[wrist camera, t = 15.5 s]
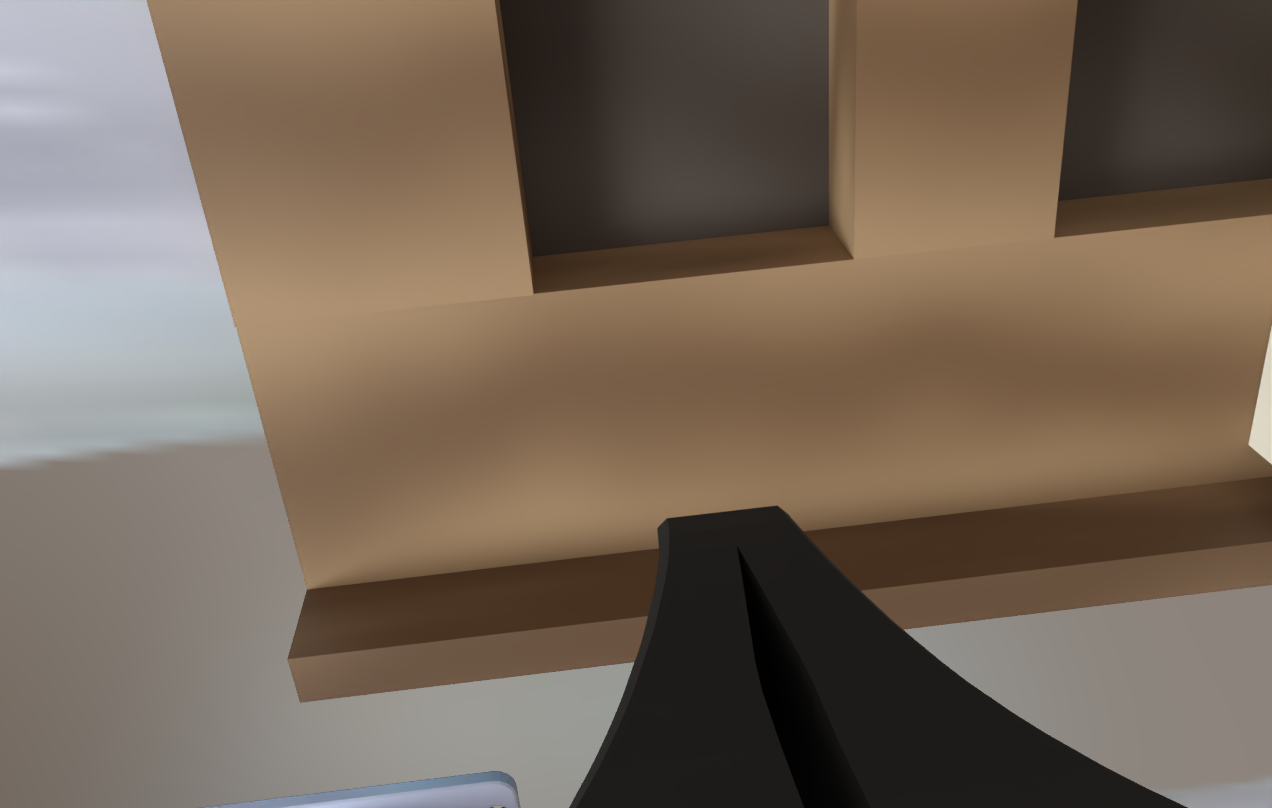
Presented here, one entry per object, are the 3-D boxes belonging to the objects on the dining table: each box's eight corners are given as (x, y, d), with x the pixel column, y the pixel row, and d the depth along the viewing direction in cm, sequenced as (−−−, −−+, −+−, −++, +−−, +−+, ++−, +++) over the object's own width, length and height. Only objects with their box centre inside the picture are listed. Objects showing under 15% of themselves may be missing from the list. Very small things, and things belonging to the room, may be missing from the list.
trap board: (1479, 436, 25) (1662, 555, 21) (333, 570, 24) (295, 722, 20) (1694, -247, 19) (2013, -265, 15) (162, -106, 18) (55, -83, 14)
